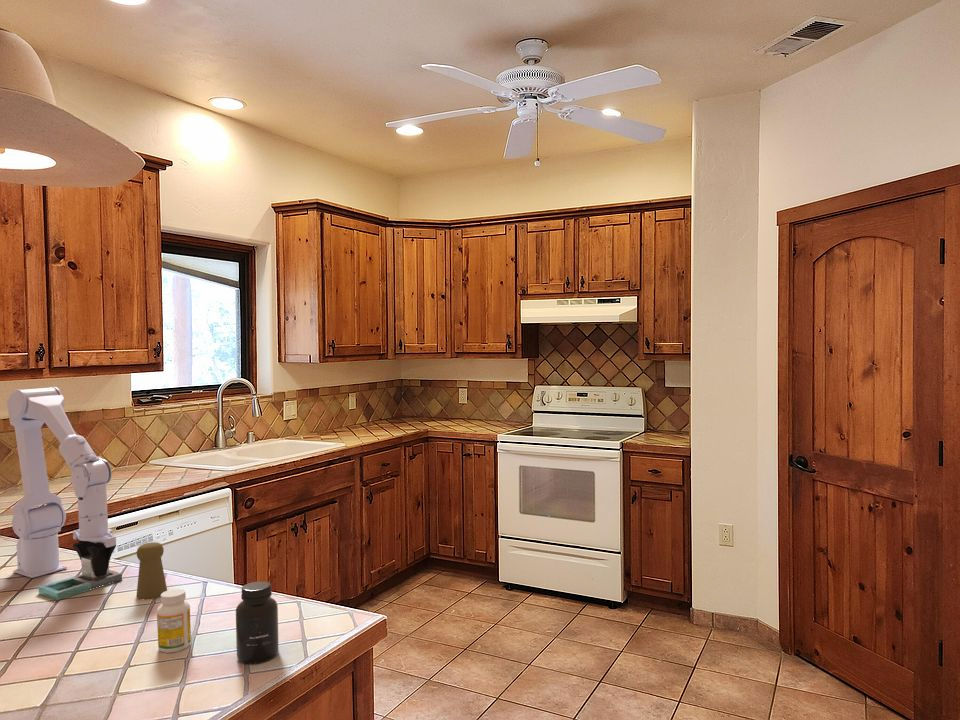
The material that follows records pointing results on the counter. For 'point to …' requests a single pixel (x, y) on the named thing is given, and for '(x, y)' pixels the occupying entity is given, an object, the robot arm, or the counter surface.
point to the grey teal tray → (76, 585)
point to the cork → (150, 571)
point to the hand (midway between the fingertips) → (95, 573)
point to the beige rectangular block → (89, 569)
